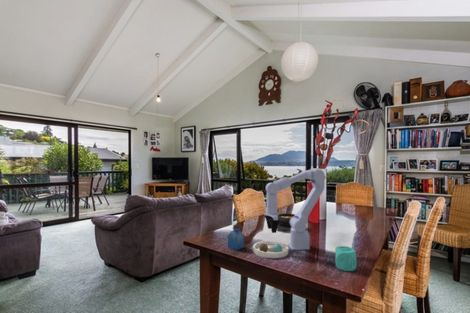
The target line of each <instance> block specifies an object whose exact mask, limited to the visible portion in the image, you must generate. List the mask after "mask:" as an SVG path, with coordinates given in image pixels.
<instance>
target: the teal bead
mask: <svg viewBox="0 0 470 313" xmlns="http://www.w3.org/2000/svg"><path fill="white" fill-rule="evenodd" d="M273 249H274V251H275V252H282V246H281V245H280V244H275V245H274V247H273Z"/></svg>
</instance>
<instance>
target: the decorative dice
mask: <svg viewBox="0 0 470 313" xmlns="http://www.w3.org/2000/svg"><path fill="white" fill-rule="evenodd" d="M334 252H335V260H334V261H335V267H336V268H337V269H338V270H341V271H344V272H354V271H355V270H357V253H356V252H357V251H356V250H355V249H354V248H353V247H349V246H345V245H343V246H342V245H341V246H340V245H339V246H336V247H335V251H334Z"/></svg>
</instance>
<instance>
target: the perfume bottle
mask: <svg viewBox="0 0 470 313" xmlns="http://www.w3.org/2000/svg"><path fill="white" fill-rule="evenodd" d="M227 248H228V249H231V250H235V251H238V250H241V249H243V248H245V235H244V233H243V231H242V230H240V224H232V230H231V231H230V232H229V233H228V236H227Z"/></svg>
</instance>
